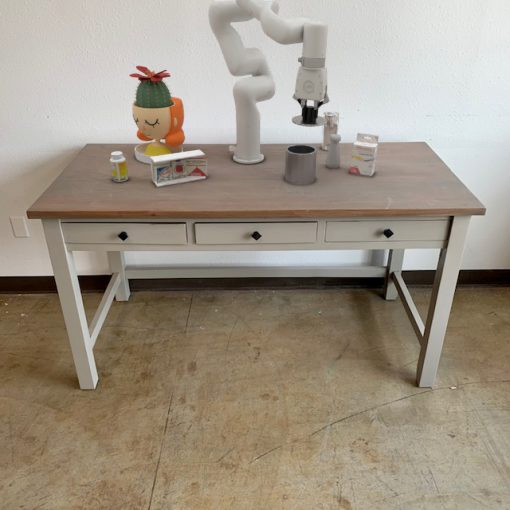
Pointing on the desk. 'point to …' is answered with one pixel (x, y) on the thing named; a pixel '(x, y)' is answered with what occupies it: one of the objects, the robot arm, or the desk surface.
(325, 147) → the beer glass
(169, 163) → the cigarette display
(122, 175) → the supplement bottle
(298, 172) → the canister
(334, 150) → the salt shaker
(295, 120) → the canister lid
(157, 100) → the potted cactus
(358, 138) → the ink cartridge box
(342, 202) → the desk surface
